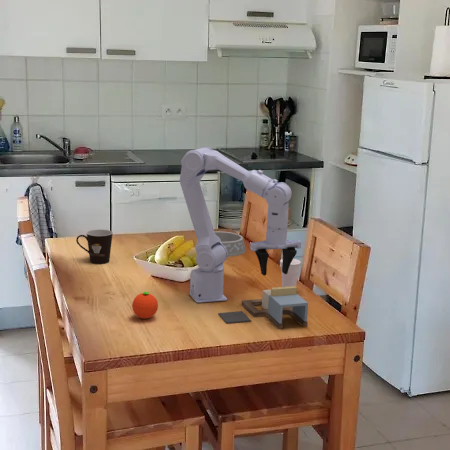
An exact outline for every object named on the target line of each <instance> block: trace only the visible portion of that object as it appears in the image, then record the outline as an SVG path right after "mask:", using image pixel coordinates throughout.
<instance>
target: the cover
mask: <svg viewBox="0 0 450 450" xmlns="http://www.w3.org/2000/svg"><path fill="white" fill-rule="evenodd" d="M297 289H298V288H297V286H296V287H295V286H289V287H282V286H278V287H271V289H270V290H271V295H269V304H268V313H269V314H270V315H271V316H272V317H273V318H274V319H275V320H276V321H277V322H278V323H279V324H280V323H282V324H283V314H282V312H283V308H285V307H293V308H292V311H293V312H294V313H296V314H297V315H298V316H299V317H300V318H301V319H302V320H304V321H307V322H308V310H309V302H308V301H307V300H306V299H305V298H303V297H302V296H301V295H299V294H298V293H297Z"/></svg>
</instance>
